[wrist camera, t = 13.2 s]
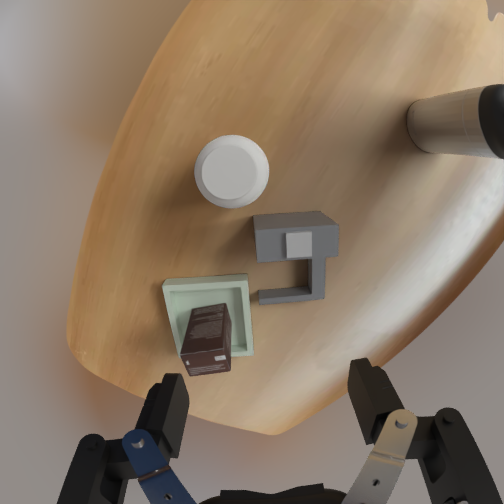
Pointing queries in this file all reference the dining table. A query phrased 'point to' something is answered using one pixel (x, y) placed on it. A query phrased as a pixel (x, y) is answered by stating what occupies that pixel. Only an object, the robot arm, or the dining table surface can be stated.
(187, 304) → the tray
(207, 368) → the box
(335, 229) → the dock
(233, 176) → the pill bottle
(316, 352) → the dining table surface
